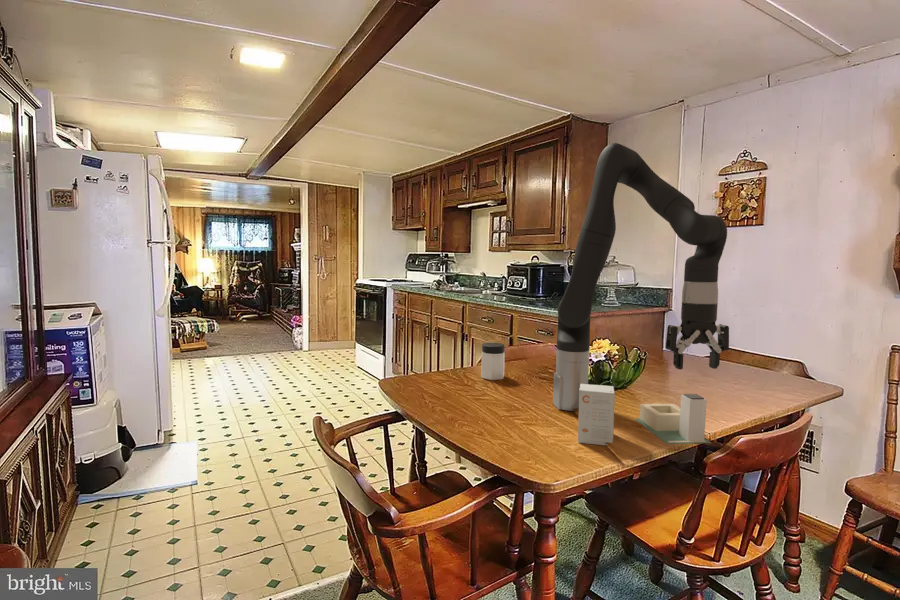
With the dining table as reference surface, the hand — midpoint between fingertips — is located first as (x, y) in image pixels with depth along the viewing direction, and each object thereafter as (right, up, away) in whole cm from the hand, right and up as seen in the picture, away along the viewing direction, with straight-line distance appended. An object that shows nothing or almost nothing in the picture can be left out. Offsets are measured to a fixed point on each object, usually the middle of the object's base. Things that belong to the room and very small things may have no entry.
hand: (695, 368), depth 115 cm
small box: (-23, -18, +2) cm, 30 cm away
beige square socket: (-3, -16, +10) cm, 19 cm away
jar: (-43, -12, +60) cm, 75 cm away
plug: (0, -17, +2) cm, 17 cm away
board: (-3, -17, +7) cm, 19 cm away
